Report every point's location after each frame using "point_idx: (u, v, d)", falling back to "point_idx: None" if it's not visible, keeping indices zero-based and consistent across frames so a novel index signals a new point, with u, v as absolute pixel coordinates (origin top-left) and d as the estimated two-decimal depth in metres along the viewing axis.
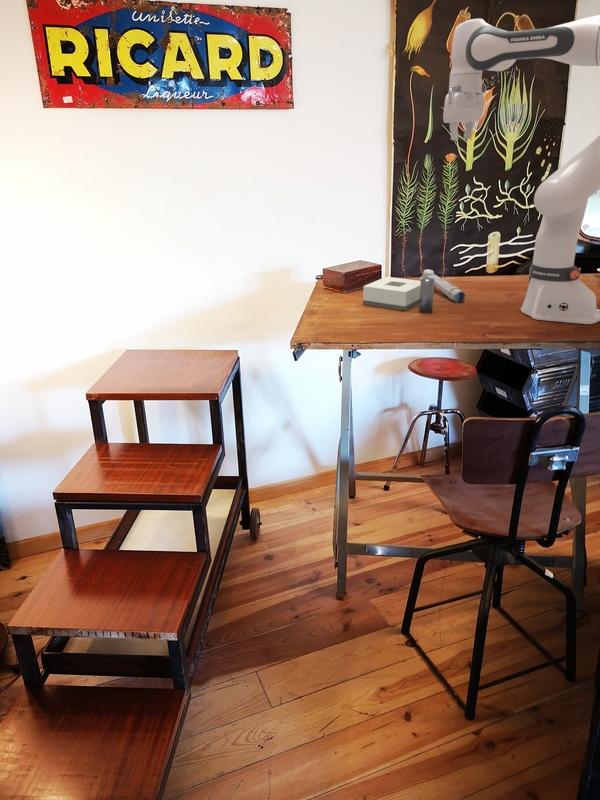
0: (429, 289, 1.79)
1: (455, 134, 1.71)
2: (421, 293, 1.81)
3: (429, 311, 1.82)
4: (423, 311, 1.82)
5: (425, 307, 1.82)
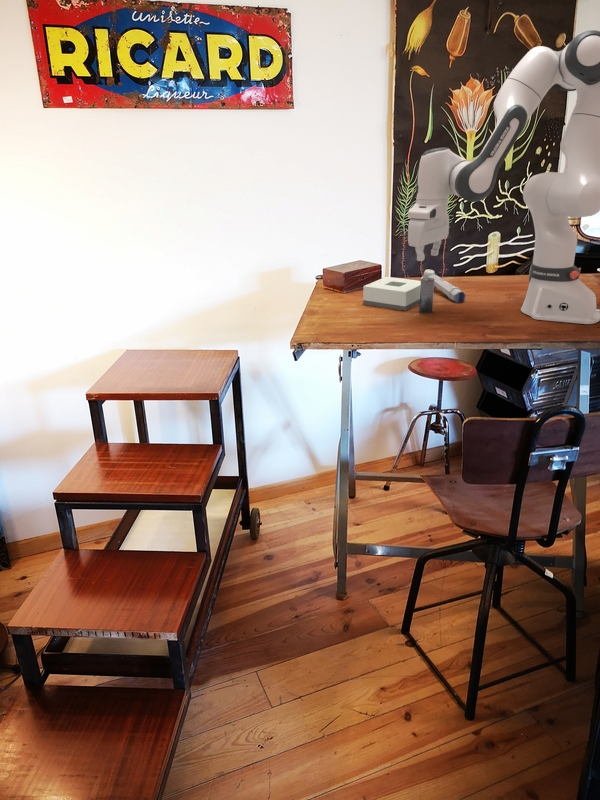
0: (429, 289, 1.79)
1: None
2: (421, 293, 1.81)
3: (429, 311, 1.82)
4: (423, 311, 1.82)
5: (425, 307, 1.82)
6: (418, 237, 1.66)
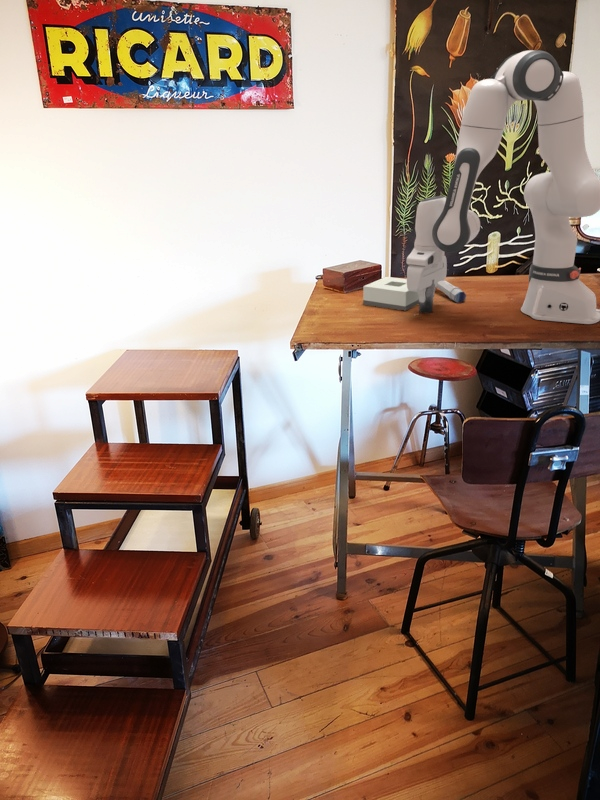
0: (429, 289, 1.79)
1: None
2: None
3: (429, 311, 1.82)
4: (423, 311, 1.82)
5: (425, 307, 1.82)
6: (416, 283, 1.72)
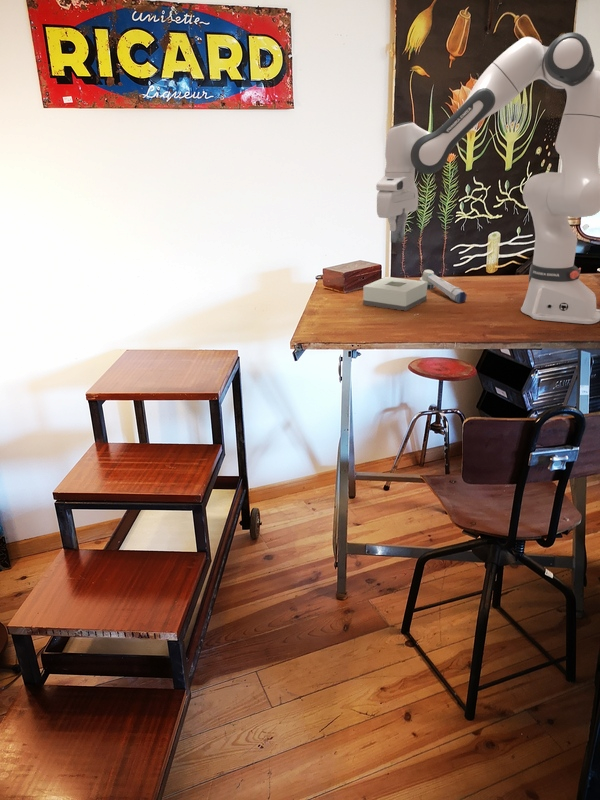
0: (400, 218, 1.82)
1: None
2: None
3: (400, 240, 1.85)
4: (394, 240, 1.85)
5: (396, 236, 1.84)
6: (386, 208, 1.74)
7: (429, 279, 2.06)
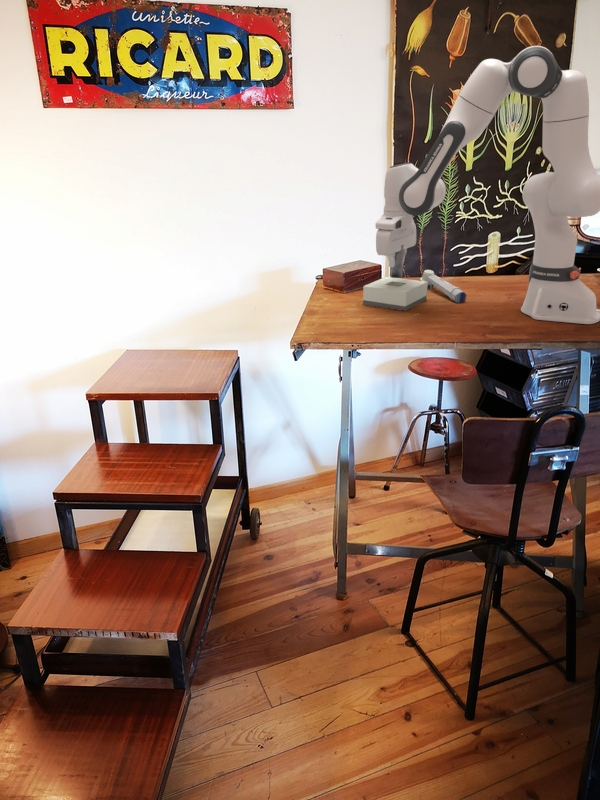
0: (399, 254, 1.86)
1: None
2: None
3: (399, 276, 1.89)
4: (393, 276, 1.89)
5: (395, 272, 1.88)
6: (385, 246, 1.78)
7: (429, 279, 2.06)
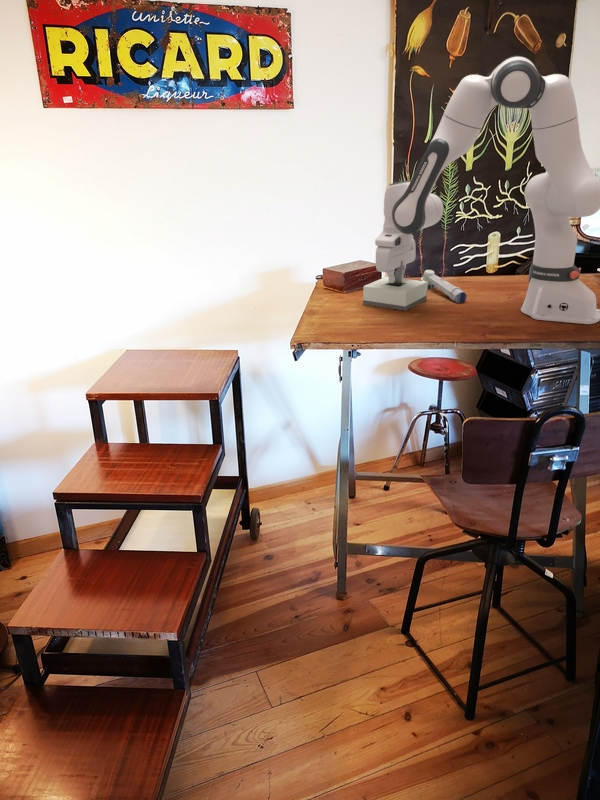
0: (398, 270, 1.88)
1: None
2: None
3: None
4: None
5: None
6: (384, 263, 1.81)
7: (430, 279, 2.06)
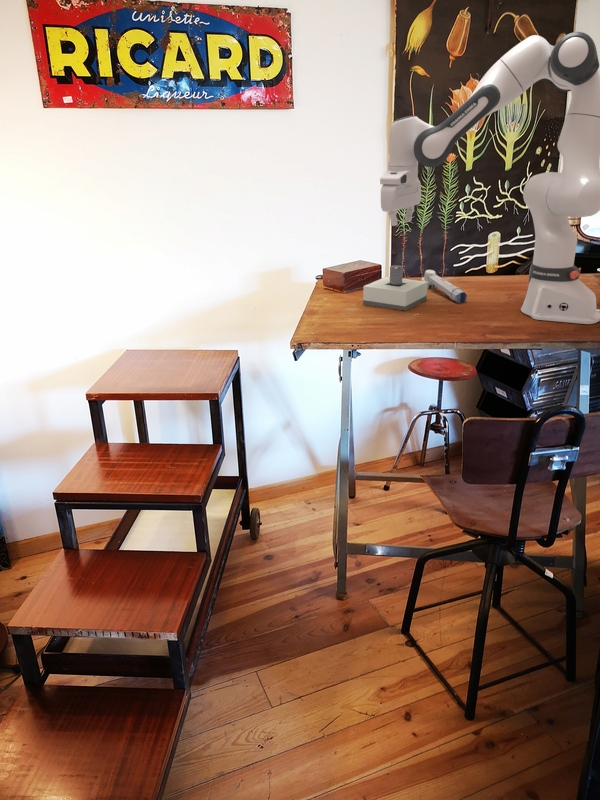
0: (398, 276, 1.89)
1: None
2: (390, 280, 1.91)
3: None
4: None
5: None
6: (390, 202, 1.75)
7: (430, 279, 2.05)
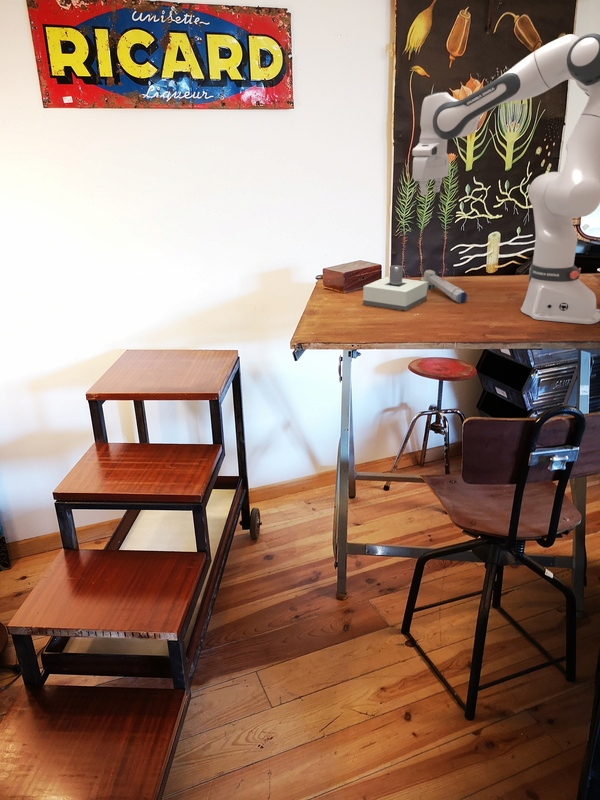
0: (398, 276, 1.89)
1: None
2: (390, 280, 1.91)
3: None
4: None
5: None
6: (421, 172, 1.89)
7: (430, 279, 2.05)
